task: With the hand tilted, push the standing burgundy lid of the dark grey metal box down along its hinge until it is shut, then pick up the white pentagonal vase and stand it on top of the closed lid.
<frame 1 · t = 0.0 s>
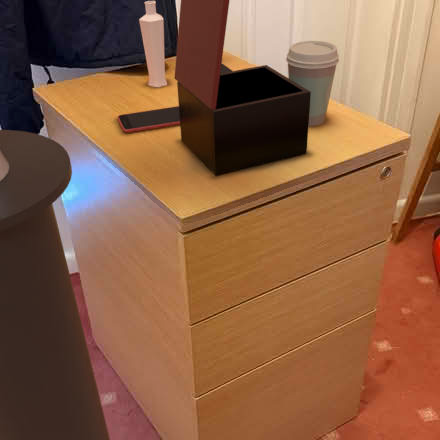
phone: (218, 83, 116), on the table
box: (242, 147, 93), on the table
box lid: (200, 32, 79), point 18 cm above the table, hinge at 80.0°
white pentagonal vase: (157, 84, 116), on the table
smartphone: (159, 120, 102), on the table
coffee cup: (307, 120, 101), on the table
flashlight: (212, 63, 125), on the table
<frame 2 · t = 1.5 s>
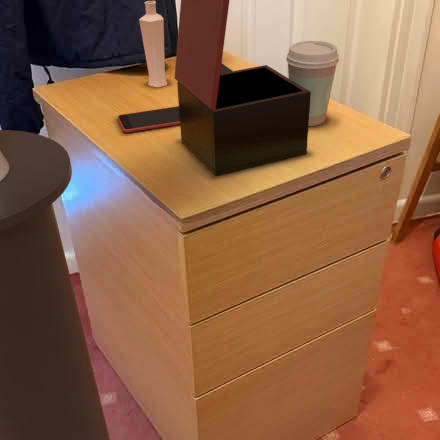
nothing on the table moved.
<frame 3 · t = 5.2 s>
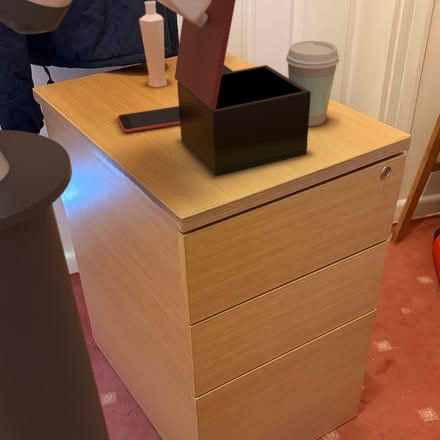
hand: (200, 20, 78), 20 cm above the table, tool tilted 45°, fingers closed, pressing on box lid
box lid: (203, 32, 79), point 18 cm above the table, hinge at 76.4°, touching gripper
everything else where it was.
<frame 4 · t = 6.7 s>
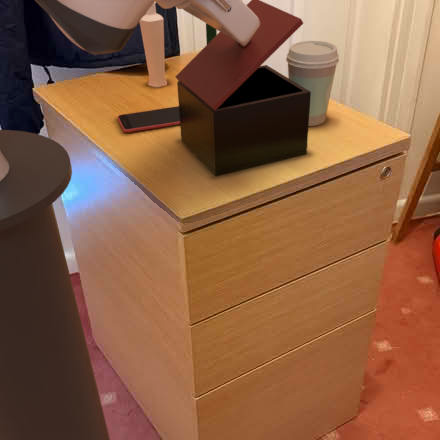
hand: (244, 39, 82), 17 cm above the table, tool tilted 45°, fingers closed
box lid: (235, 51, 83), point 15 cm above the table, hinge at 35.1°, touching gripper
everything else where it was.
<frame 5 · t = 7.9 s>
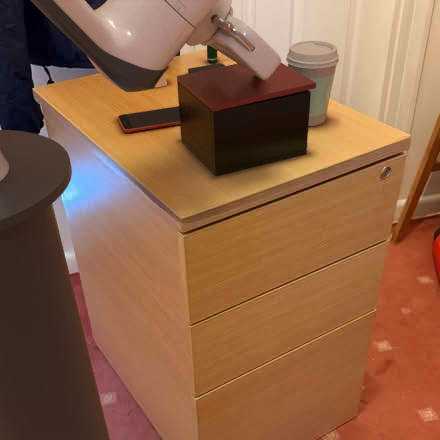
hand: (263, 71, 86), 12 cm above the table, tool tilted 45°, fingers closed, pressing on box lid
box lid: (244, 81, 86), point 10 cm above the table, hinge at 1.1°, touching gripper
everything else where it was.
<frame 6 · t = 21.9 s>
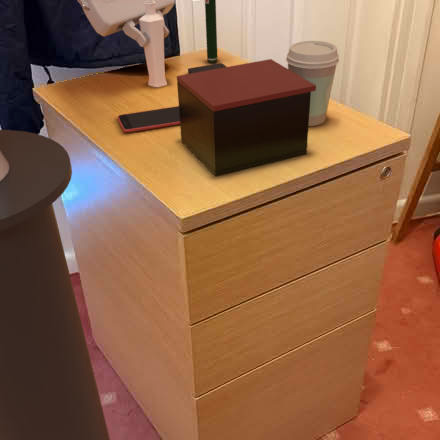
hand: (156, 40, 110), 8 cm above the table, tool tilted 45°, fingers closed on white pentagonal vase, 4 cm apart
box lid: (244, 83, 86), point 10 cm above the table, hinge at -0.2°, touching box
white pentagonal vase: (157, 84, 116), on the table, touching gripper
everything else where it was.
when the fingers open (19 cm above the table, at t = 30.5 s): white pentagonal vase stays where it is, resting on box lid.
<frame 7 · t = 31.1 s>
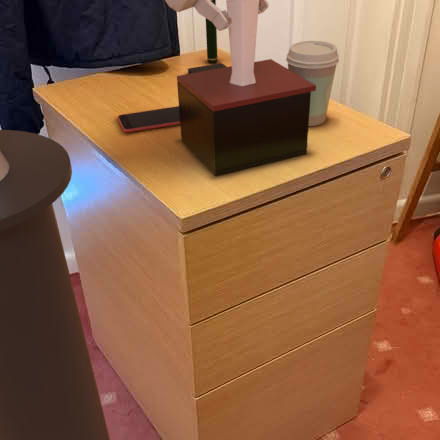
hand: (245, 18, 80), 19 cm above the table, tool tilted 45°, fingers open, 8 cm apart
box lid: (244, 83, 86), point 10 cm above the table, hinge at -0.2°, touching box, white pentagonal vase
white pentagonal vase: (242, 82, 86), point 10 cm above the table, touching box lid
everything else where it was.
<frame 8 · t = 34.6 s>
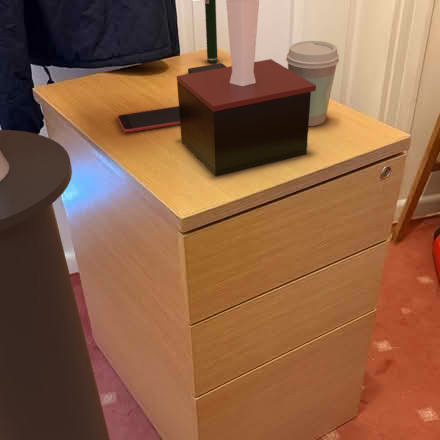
nothing on the table moved.
at the end: box lid at +0° (first picture: +80°); white pentagonal vase inside the target area on the box (0.0 cm from its centre), point 10.4 cm above the box's base; white pentagonal vase tilted 0° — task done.
